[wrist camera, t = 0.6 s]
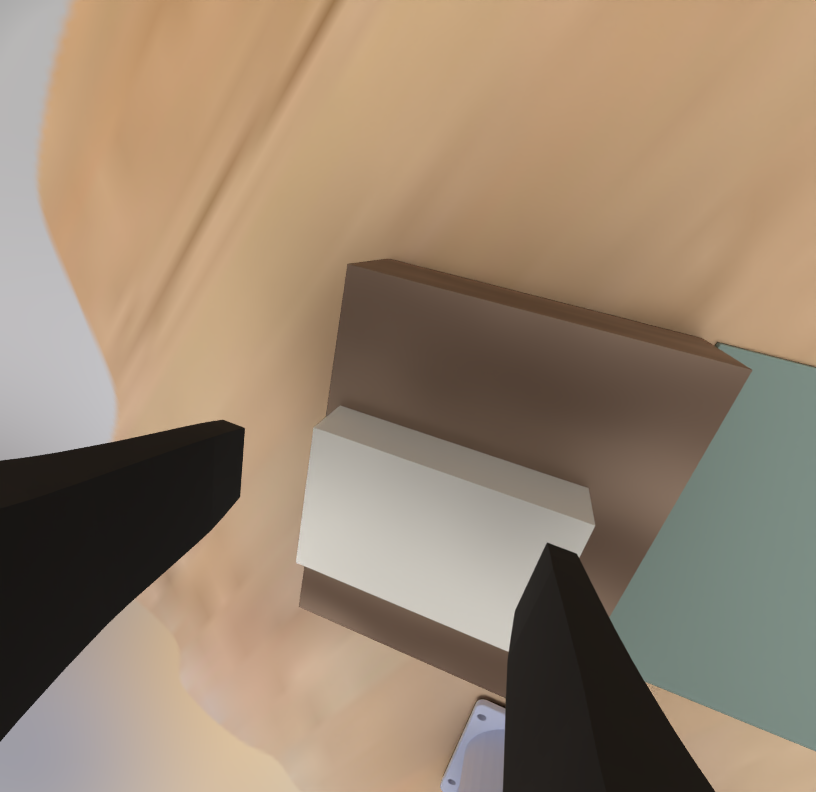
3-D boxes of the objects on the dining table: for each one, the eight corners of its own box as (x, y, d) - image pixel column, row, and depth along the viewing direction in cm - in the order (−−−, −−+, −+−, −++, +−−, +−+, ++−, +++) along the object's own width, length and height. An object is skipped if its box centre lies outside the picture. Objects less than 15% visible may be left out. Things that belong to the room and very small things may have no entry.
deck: (549, 637, 21) (550, 718, 18) (335, 550, 24) (298, 606, 20) (702, 338, 15) (752, 369, 11) (388, 258, 17) (347, 263, 14)
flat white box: (530, 613, 16) (528, 660, 14) (320, 530, 18) (295, 562, 16) (588, 488, 14) (594, 525, 12) (340, 405, 15) (313, 427, 14)
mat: (851, 760, 19) (856, 767, 18) (559, 641, 21) (559, 646, 21) (1193, 463, 12) (1207, 468, 12) (717, 342, 15) (720, 344, 15)
